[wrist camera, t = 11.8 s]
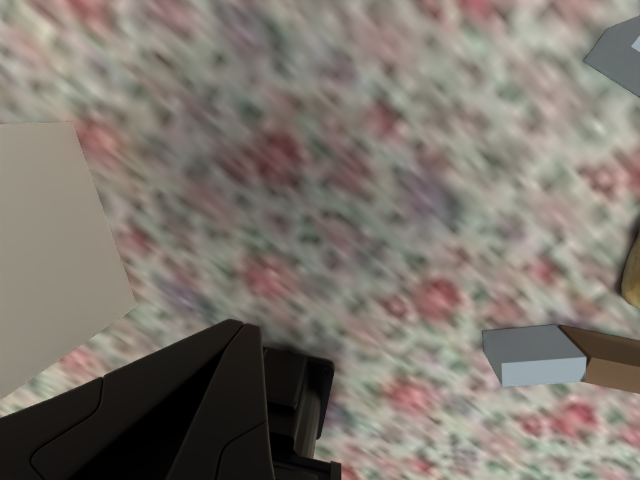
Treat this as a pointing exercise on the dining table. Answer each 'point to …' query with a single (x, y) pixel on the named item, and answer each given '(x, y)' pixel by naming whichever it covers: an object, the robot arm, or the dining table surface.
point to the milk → (52, 252)
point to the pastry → (632, 276)
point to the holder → (566, 342)
